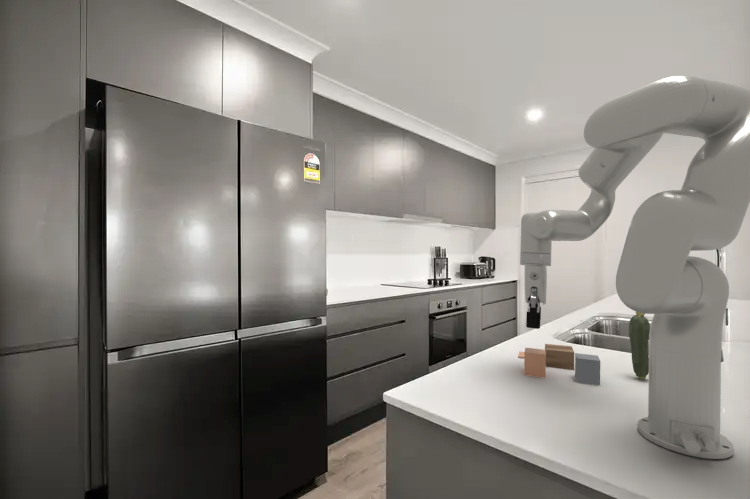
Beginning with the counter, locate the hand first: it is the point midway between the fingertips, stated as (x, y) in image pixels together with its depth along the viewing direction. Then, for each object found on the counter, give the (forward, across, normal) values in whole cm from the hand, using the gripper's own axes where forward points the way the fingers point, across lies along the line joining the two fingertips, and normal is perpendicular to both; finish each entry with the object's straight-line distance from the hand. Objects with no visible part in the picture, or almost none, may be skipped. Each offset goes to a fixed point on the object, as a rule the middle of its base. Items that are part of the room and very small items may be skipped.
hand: (533, 324), depth 98 cm
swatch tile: (+13, +15, +1) cm, 20 cm away
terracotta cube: (+13, -1, -1) cm, 13 cm away
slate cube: (+13, -1, -13) cm, 18 cm away
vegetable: (+13, +6, -25) cm, 28 cm away
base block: (+13, +10, -7) cm, 18 cm away
